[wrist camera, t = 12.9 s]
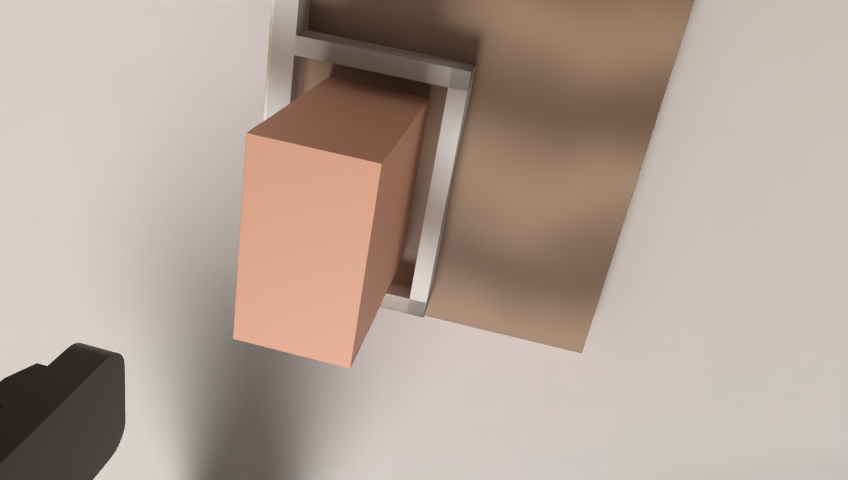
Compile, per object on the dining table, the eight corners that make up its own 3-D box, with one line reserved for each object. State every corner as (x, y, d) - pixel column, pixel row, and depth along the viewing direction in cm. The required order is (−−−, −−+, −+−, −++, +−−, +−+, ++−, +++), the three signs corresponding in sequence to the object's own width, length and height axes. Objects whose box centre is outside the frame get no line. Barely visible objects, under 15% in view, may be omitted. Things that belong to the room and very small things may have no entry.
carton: (430, 98, 31) (381, 163, 23) (401, 261, 34) (350, 368, 26) (326, 76, 31) (242, 132, 23) (308, 239, 34) (229, 338, 26)
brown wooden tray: (323, -293, 27) (291, -321, 24) (754, -222, 26) (780, -241, 23) (276, 258, 38) (249, 289, 34) (581, 331, 36) (582, 371, 33)
